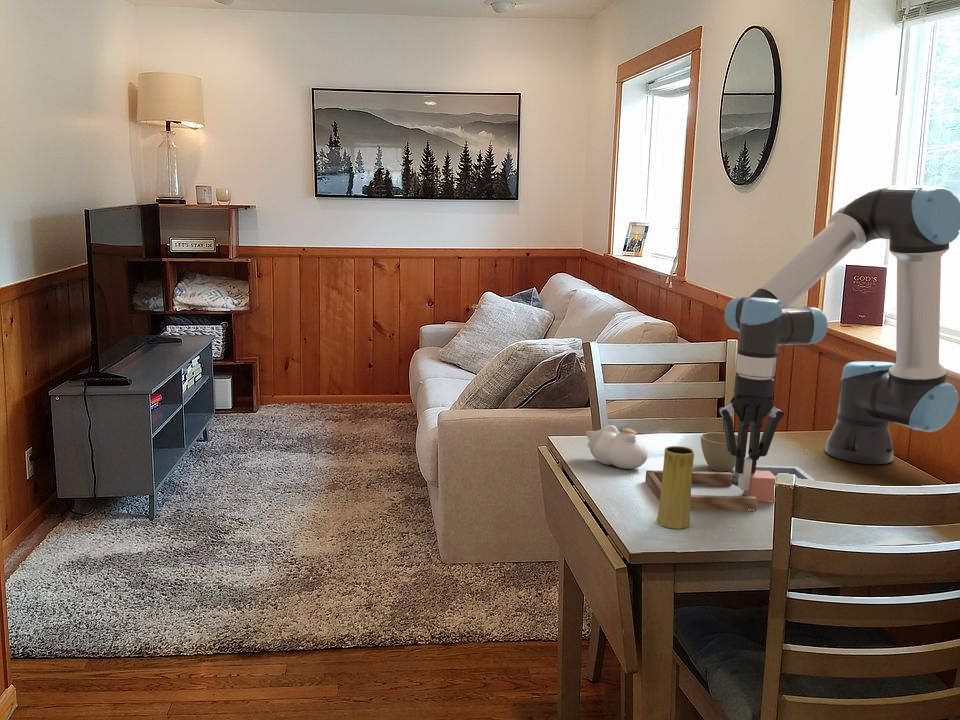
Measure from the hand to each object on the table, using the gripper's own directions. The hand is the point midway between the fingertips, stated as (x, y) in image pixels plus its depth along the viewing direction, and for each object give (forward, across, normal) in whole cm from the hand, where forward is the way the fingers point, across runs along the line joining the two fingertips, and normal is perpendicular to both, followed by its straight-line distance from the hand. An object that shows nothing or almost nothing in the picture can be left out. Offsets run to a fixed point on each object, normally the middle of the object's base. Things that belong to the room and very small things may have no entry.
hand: (743, 488), depth 186 cm
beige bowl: (+2, -1, -19) cm, 19 cm away
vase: (+2, +19, +16) cm, 25 cm away
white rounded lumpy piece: (+2, +23, -20) cm, 30 cm away
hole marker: (+2, -3, -9) cm, 10 cm away
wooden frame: (+2, +9, 0) cm, 9 cm away
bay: (+2, -10, -9) cm, 13 cm away
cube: (+2, -3, 0) cm, 4 cm away
